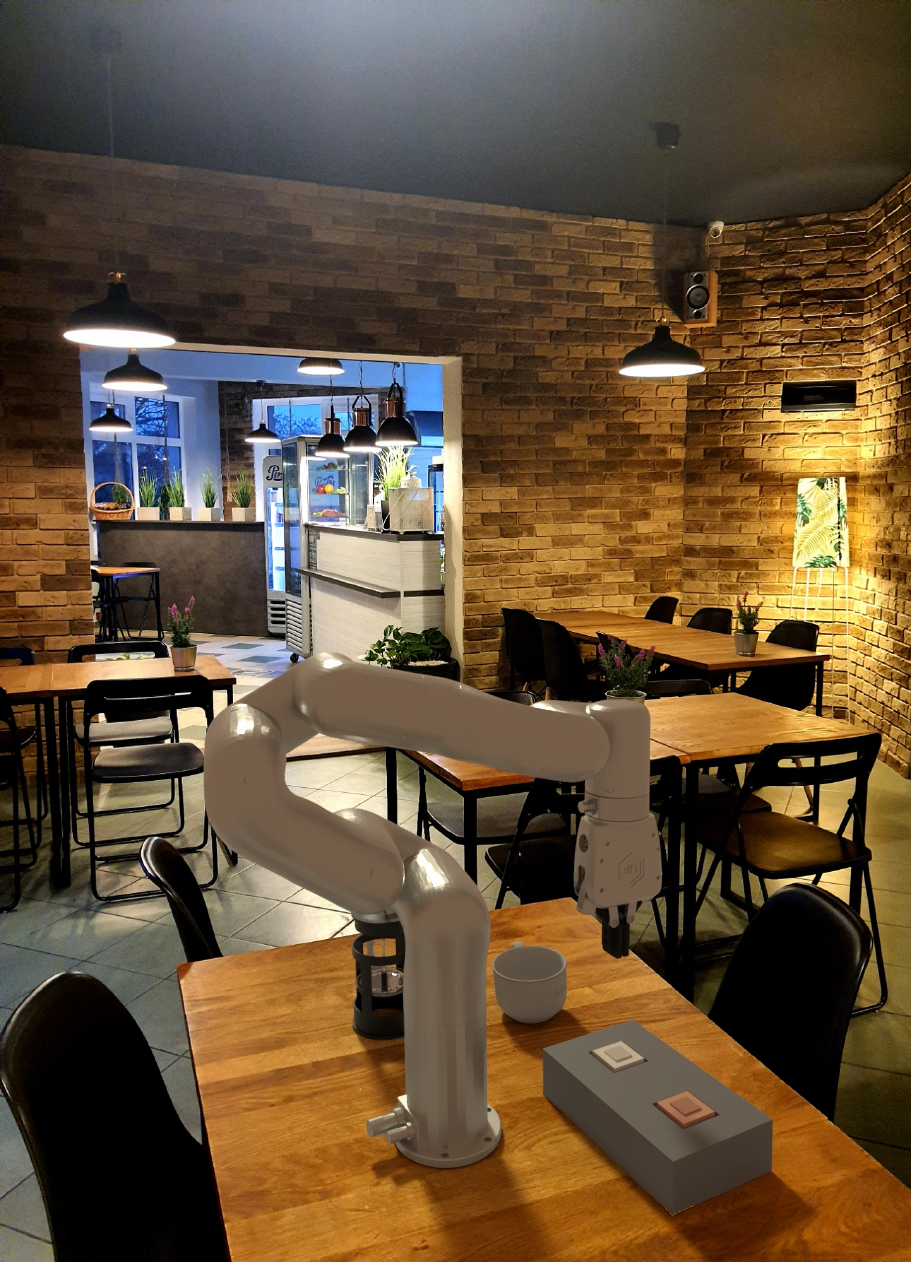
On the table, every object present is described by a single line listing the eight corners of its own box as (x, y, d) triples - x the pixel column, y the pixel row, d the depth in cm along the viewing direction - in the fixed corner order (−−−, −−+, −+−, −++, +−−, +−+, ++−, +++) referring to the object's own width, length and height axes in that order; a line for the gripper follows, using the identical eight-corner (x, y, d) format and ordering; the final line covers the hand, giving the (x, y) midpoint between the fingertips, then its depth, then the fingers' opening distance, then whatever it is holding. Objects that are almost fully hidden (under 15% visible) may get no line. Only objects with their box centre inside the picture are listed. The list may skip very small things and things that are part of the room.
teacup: (570, 1032, 131) (570, 977, 130) (493, 1032, 131) (492, 978, 131) (561, 984, 145) (561, 934, 144) (491, 984, 145) (490, 935, 144)
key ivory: (614, 1092, 112) (614, 1066, 111) (592, 1073, 115) (592, 1048, 115) (643, 1081, 114) (644, 1056, 113) (621, 1063, 117) (621, 1039, 117)
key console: (672, 1216, 96) (672, 1161, 95) (543, 1093, 117) (542, 1048, 116) (771, 1170, 102) (772, 1119, 102) (632, 1062, 123) (632, 1019, 123)
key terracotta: (683, 1149, 101) (683, 1122, 101) (656, 1127, 105) (656, 1100, 105) (714, 1136, 103) (714, 1109, 103) (686, 1115, 107) (687, 1088, 107)
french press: (335, 1028, 133) (330, 872, 131) (373, 999, 141) (369, 851, 139) (404, 1050, 127) (401, 887, 125) (440, 1018, 135) (437, 864, 133)
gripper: (583, 822, 104) (582, 980, 106) (687, 804, 111) (684, 952, 113) (546, 805, 111) (546, 954, 113) (646, 789, 118) (644, 929, 120)
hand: (615, 952), depth 113 cm, fingers closed
